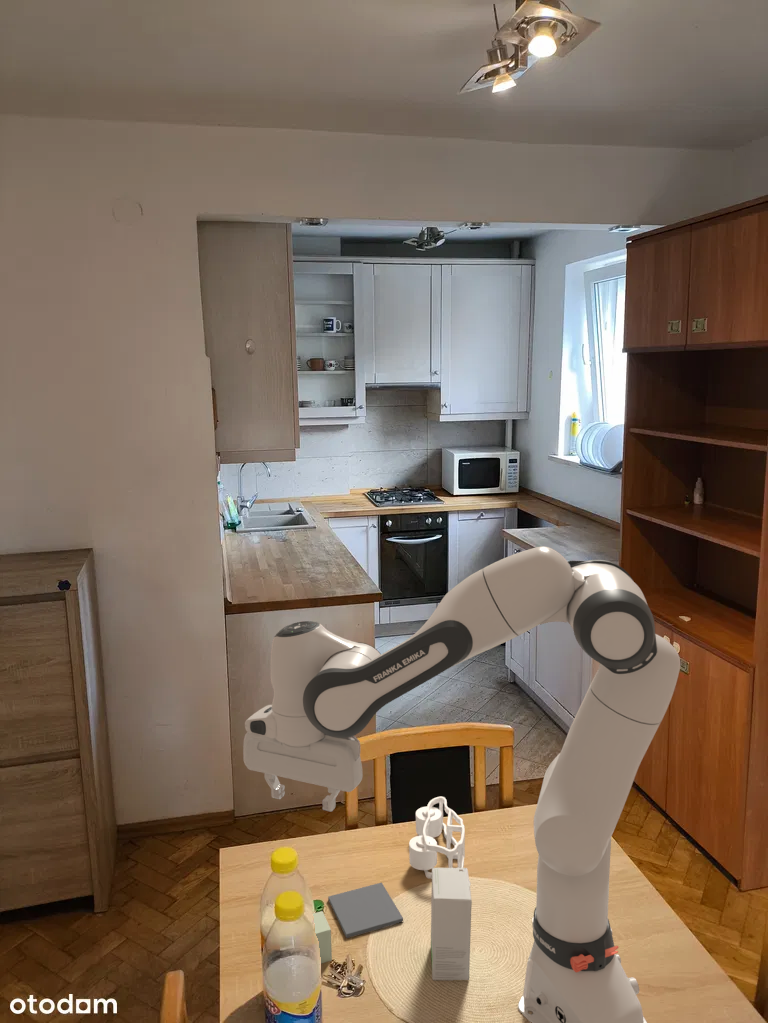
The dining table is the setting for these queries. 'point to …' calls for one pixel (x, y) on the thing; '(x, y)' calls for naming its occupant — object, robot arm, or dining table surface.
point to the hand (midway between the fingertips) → (303, 802)
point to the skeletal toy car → (430, 827)
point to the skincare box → (450, 924)
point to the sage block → (323, 936)
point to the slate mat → (364, 910)
